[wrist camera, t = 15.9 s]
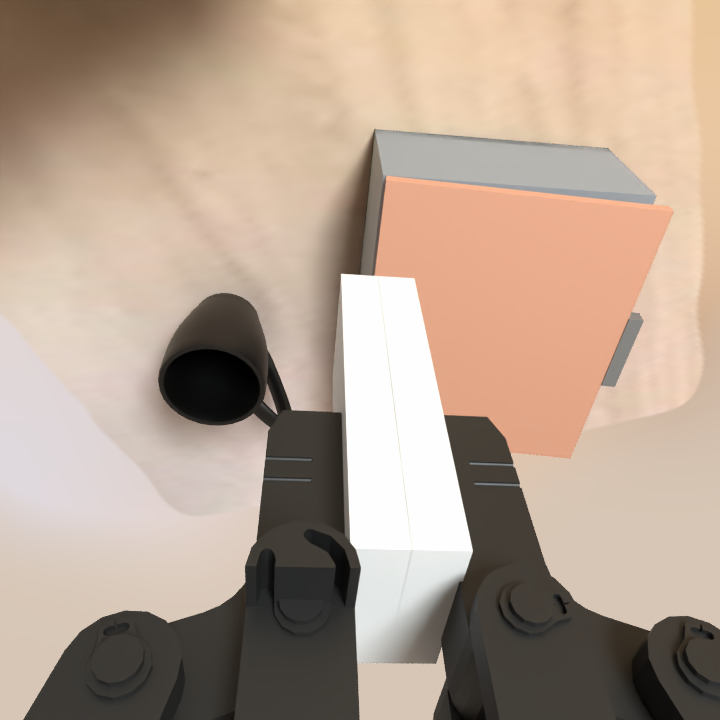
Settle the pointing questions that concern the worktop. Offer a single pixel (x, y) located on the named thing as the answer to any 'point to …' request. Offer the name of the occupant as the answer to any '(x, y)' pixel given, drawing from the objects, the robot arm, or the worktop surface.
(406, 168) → the box
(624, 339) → the lid
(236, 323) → the mug
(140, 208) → the worktop surface
